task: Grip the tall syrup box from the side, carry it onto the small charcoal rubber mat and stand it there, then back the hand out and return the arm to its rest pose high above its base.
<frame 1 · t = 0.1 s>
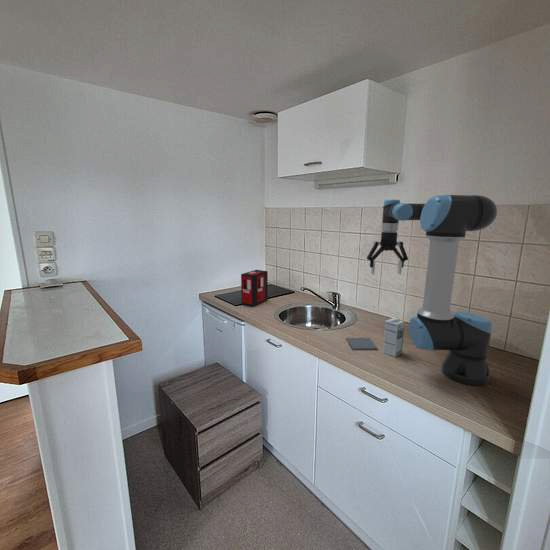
hand: (385, 273, 156), 28 cm above the worktop, tool pointing down, fingers open, 13 cm apart
syrup box: (392, 352, 131), on the worktop
cleaning product box: (254, 302, 199), on the worktop
charcoal mat: (361, 344, 139), on the worktop
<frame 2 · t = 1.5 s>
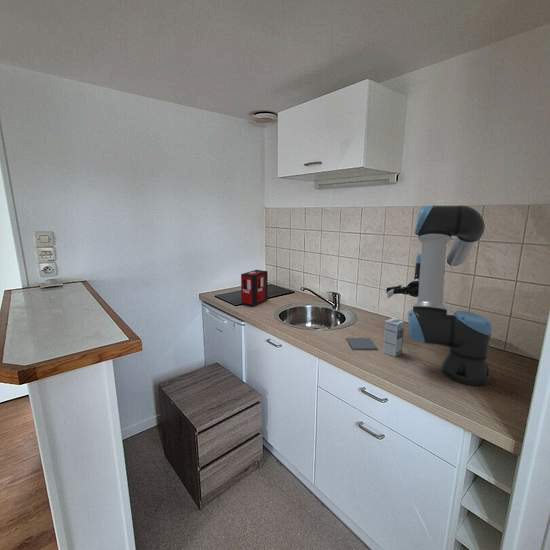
hand: (403, 298, 134), 22 cm above the worktop, tool horizontal, fingers open, 13 cm apart
nothing on the worktop moved.
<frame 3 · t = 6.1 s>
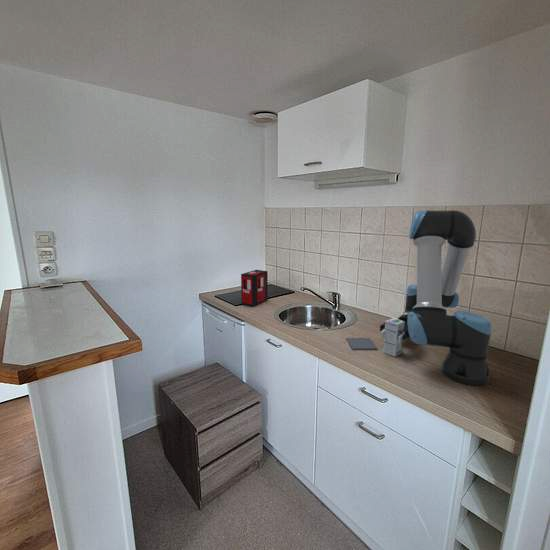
hand: (389, 337, 126), 9 cm above the worktop, tool horizontal, fingers closed on syrup box, 7 cm apart
syrup box: (392, 352, 131), on the worktop, touching gripper
everything else where it was.
when the fingers open (10 cm above the worktop, at t = 10.7 s): syrup box drops 1 cm, resting on charcoal mat.
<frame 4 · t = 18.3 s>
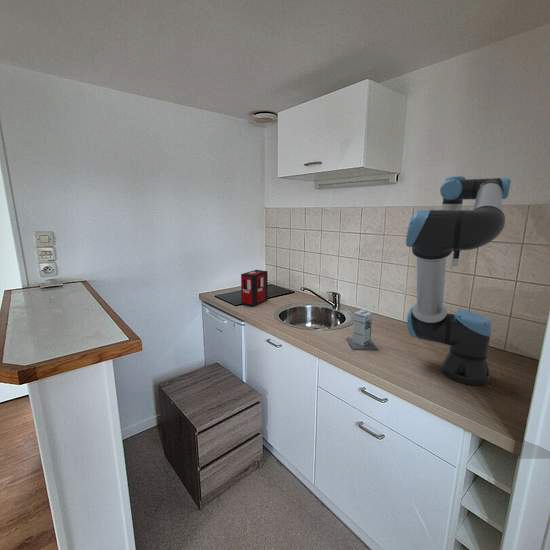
hand: (444, 263, 136), 37 cm above the worktop, tool pointing down, fingers open, 13 cm apart
syrup box: (361, 343, 139), point 1 cm above the worktop, touching charcoal mat
everything else where it was.
at the end: syrup box inside the target area on the charcoal mat (0.2 cm from its centre), point 0.6 cm above the charcoal mat's base; syrup box tilted 0°; the gripper is holding nothing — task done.
